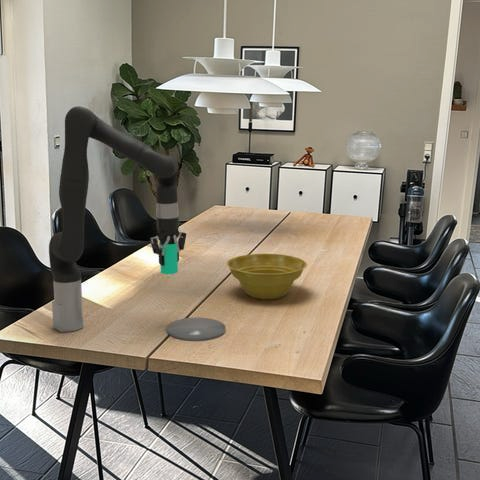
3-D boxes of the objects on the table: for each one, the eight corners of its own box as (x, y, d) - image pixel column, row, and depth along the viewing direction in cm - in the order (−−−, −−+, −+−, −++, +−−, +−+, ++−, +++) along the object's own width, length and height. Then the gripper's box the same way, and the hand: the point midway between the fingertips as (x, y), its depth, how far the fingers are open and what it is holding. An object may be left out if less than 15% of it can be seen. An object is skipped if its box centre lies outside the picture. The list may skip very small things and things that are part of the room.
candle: (169, 268, 236) (167, 235, 233) (181, 271, 232) (180, 237, 229) (156, 272, 231) (155, 238, 228) (169, 275, 228) (168, 240, 225)
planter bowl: (245, 311, 252) (246, 276, 249) (214, 288, 281) (214, 257, 278) (320, 301, 265) (321, 268, 262) (283, 280, 293) (283, 250, 290)
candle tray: (189, 345, 217) (189, 341, 217) (155, 328, 232) (155, 325, 232) (237, 332, 229) (237, 328, 229) (202, 317, 244) (202, 313, 244)
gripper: (156, 220, 220) (158, 270, 224) (191, 214, 229) (192, 262, 233) (143, 216, 225) (145, 265, 229) (178, 211, 234) (179, 258, 238)
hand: (169, 263), depth 231 cm, fingers closed on candle, 4 cm apart
